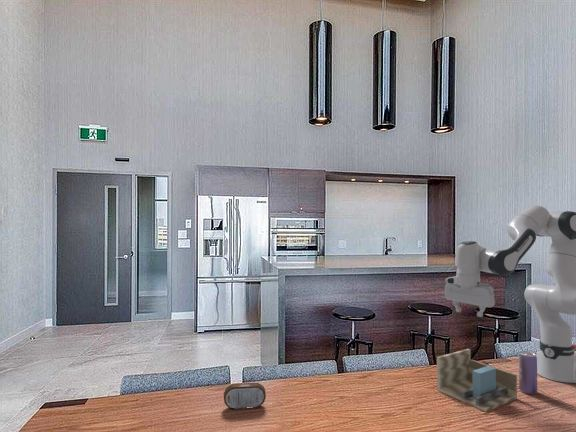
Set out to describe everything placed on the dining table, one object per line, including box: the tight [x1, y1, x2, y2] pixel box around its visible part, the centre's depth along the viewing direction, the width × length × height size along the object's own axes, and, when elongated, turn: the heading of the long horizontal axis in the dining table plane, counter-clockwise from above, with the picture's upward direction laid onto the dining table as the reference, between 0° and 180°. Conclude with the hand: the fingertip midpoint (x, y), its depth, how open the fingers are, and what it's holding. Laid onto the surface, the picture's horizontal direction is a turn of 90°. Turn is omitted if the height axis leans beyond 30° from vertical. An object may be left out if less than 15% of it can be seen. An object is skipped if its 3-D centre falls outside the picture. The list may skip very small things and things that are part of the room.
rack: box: [436, 348, 518, 413], centre depth 143 cm, size 20×20×13 cm
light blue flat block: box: [472, 365, 497, 399], centre depth 139 cm, size 10×3×10 cm, turn 120°
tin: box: [223, 382, 267, 409], centre depth 132 cm, size 15×3×8 cm, turn 98°
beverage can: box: [518, 350, 538, 396], centre depth 146 cm, size 6×6×15 cm
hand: (468, 314), depth 153 cm, fingers open, 8 cm apart
